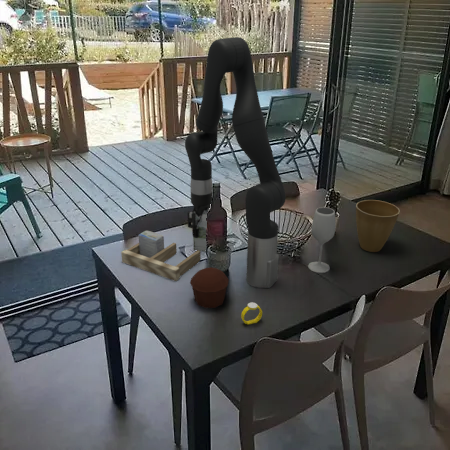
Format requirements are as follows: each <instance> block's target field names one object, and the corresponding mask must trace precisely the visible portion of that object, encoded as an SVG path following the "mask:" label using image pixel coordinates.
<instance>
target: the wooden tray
mask: <svg viewBox="0 0 450 450" xmlns="http://www.w3.org/2000/svg"><path fill="white" fill-rule="evenodd" d="M177 249H178V248H177V242H172V243H171V244H169V245H168V246H166V247H164V249H163V250H162V251H160V252H159V253H157V254H155V255H154V256H152V257H151V258H149V257H146V256H143V255H140V249H139V242H137V243H136V244H134V245H132V246H131V247H129V248H128V249H124V250H123V251H121V253H120V254H121V263H123V264H126V265H129V266H131V267H135V268H138V269H140V270H143V271H145V272H149V273H152V274H154V275H156V276H159V277H162V278H166V279H169V280H172V281H173V282H177V281H179V280H180V278H181V277H182V276H183V275H184V274H186V273H187V272H188V271H190V270H191V269H193V268H194V267H195V266H196V265H198V264H199V263H200V262H201V261H202V260H201V259H202V257H201V252H202V251H199V250H197V251H194V252H193V253H191V254H190V255H189V256H187V257H186V258H185V259H183V260H182V261H180V262H179V263H177V264H176V265H172V264H169V263H167V262H166V261H168V260H170V259H171V258H172V257H174V256H175V255H177V254H178V253H177V251H178V250H177ZM176 253H177V254H176ZM200 260H201V261H200ZM199 261H200V262H199ZM165 262H166V263H165ZM198 262H199V263H198ZM197 263H198V264H197ZM193 266H194V267H193ZM189 269H190V270H189Z"/></svg>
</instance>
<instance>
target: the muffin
mask: <svg viewBox="0 0 450 450" xmlns="http://www.w3.org/2000/svg"><path fill="white" fill-rule="evenodd" d="M229 281H230V280H229V278H228V276H227V275H226V274H225V272H224V271H222V270H221V269H220V268H219V269H218V268H217V267H209V266H208V267H204V268H201V269H200V270H198V271H196V273H195V274H194V275H193V276H192V277H191V279H190V282H189V283H190V286H191V288H192V294H193V297H194V298H193V299H194V301H195V302H196V304H197V306H198V307H202V308H205V309H212V308H213V309H216V308H218V307H219V306H222V305H223V303H224V301H225V299H226V292H227V287H228V285H229Z"/></svg>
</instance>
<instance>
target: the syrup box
mask: <svg viewBox="0 0 450 450" xmlns="http://www.w3.org/2000/svg"><path fill="white" fill-rule="evenodd" d="M207 212H208V211H205V214H204V215H202V222H201V223H200V225H199V237H198V238H195V237H193V236H192V237H193V240H192V242H193V243H192V244H193V249H192V250H193V251H195V250H199V251H201V252H206V251H205V250H206V228H207V221H206V218H207ZM196 219H198V220H199V219H200V217H198V216H197V214H196ZM196 225H197V221H196Z"/></svg>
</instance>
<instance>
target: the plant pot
mask: <svg viewBox="0 0 450 450" xmlns="http://www.w3.org/2000/svg"><path fill="white" fill-rule="evenodd" d="M400 212H401V210H400V208H399V207H397V206H396V205H394V204H393V203H389V202H387V201H384V200H383V201H382V200H376V199H364V200H360V201H358V202H357V203H356V205H355V221H356V222H355V223H356V224H355V225H356V232H357V238H358V243H359V246H360V248H361V249H362V250H363V251H366V252H370V253H377V252H380V251H382V249H383V247H384V246H385V244H386V242H387V241H388V239H389V237H390V236H391V234H392V233H393V232H392V231H393V230H394V227H395V225H396V222H397V220H398V217H399V215H400Z"/></svg>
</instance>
